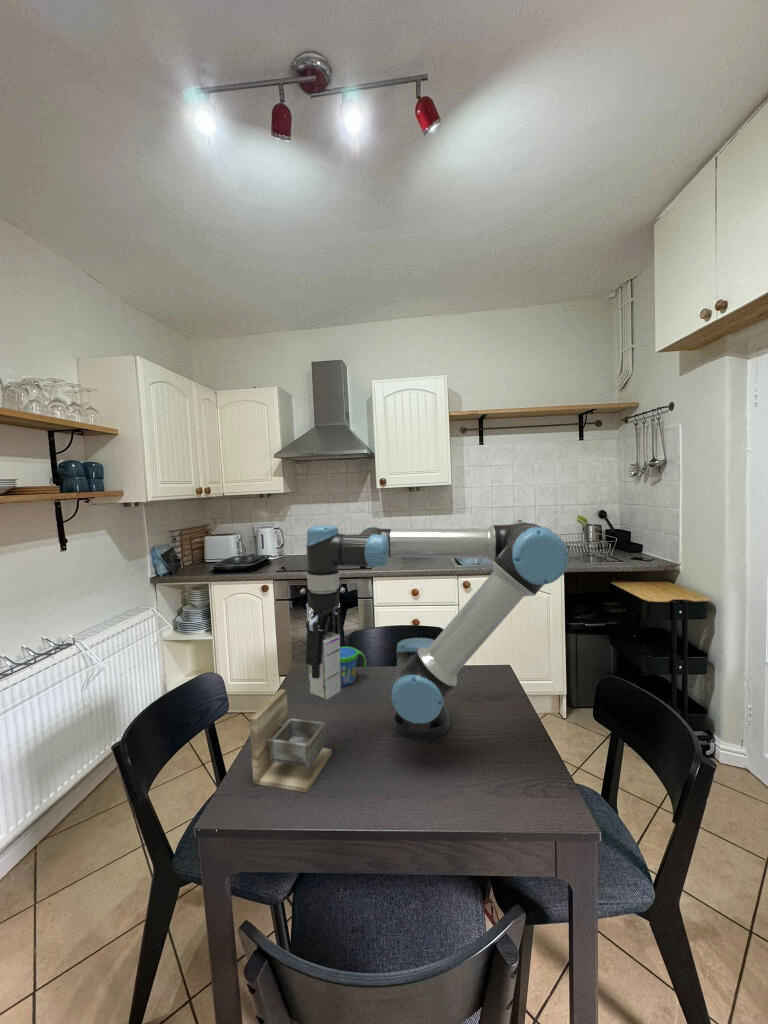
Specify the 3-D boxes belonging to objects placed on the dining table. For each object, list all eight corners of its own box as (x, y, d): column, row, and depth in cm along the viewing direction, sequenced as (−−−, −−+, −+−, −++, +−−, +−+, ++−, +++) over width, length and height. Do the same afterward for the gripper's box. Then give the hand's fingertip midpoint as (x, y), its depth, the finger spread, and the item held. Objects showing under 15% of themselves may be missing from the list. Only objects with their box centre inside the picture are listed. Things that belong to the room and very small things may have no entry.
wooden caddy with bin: (331, 753, 107) (328, 693, 106) (306, 792, 94) (303, 725, 93) (284, 746, 111) (280, 689, 110) (253, 783, 97) (249, 718, 96)
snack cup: (364, 672, 152) (362, 643, 152) (369, 685, 142) (368, 655, 142) (319, 678, 149) (317, 649, 148) (321, 692, 139) (320, 661, 138)
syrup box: (341, 691, 107) (341, 633, 107) (325, 700, 103) (324, 640, 102) (324, 685, 111) (323, 629, 110) (307, 694, 106) (307, 635, 105)
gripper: (327, 579, 115) (328, 664, 117) (288, 599, 97) (290, 699, 98) (353, 581, 113) (354, 668, 115) (318, 601, 94) (320, 704, 96)
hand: (324, 682), depth 106 cm, fingers closed on syrup box, 7 cm apart
